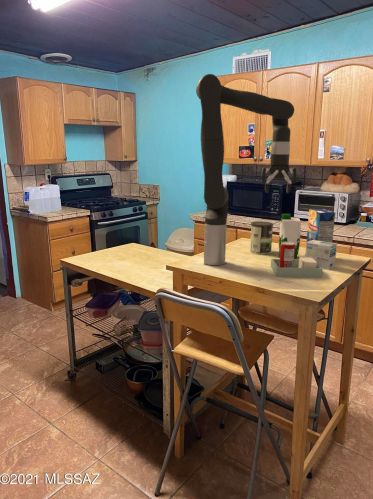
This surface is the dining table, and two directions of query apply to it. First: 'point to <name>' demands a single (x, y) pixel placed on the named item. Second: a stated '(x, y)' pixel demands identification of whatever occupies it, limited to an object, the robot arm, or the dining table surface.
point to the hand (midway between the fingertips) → (277, 192)
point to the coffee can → (261, 237)
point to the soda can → (287, 255)
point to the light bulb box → (322, 253)
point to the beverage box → (320, 225)
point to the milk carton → (290, 232)
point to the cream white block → (307, 263)
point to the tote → (295, 270)
